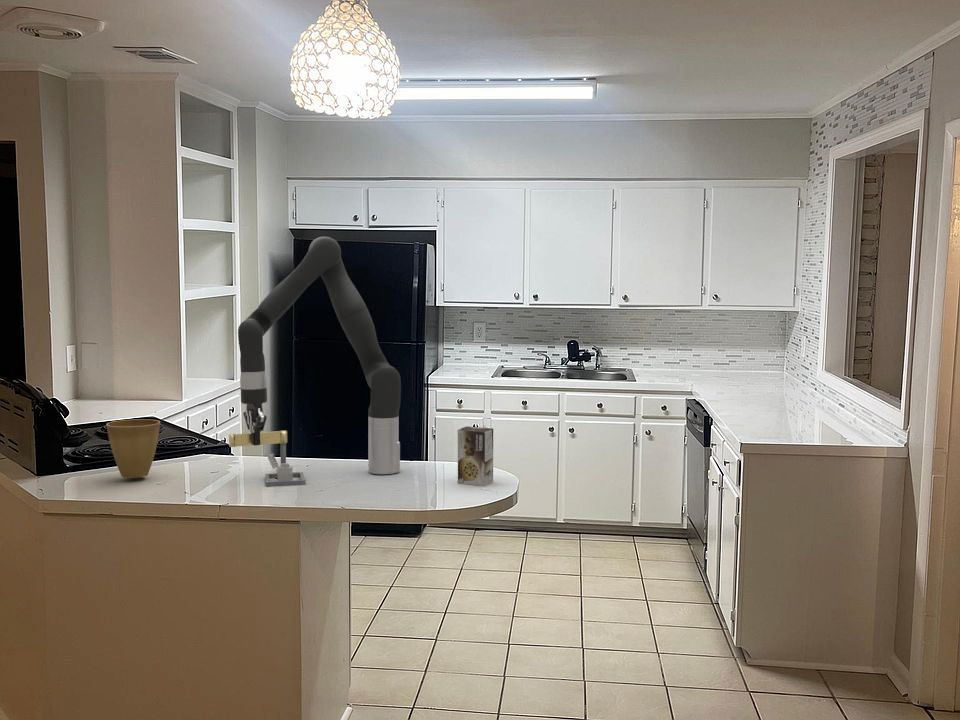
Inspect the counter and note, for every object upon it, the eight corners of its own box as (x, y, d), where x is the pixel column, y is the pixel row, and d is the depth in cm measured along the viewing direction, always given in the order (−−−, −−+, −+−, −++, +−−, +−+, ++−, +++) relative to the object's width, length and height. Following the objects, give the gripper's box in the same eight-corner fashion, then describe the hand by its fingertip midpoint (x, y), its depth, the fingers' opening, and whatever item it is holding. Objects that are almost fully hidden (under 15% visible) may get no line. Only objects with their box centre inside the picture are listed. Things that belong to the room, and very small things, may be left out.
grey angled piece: (292, 480, 256) (292, 453, 255) (291, 482, 254) (290, 455, 254) (269, 479, 257) (269, 453, 256) (267, 481, 255) (267, 454, 254)
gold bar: (288, 443, 263) (287, 431, 263) (230, 447, 256) (229, 435, 256) (286, 441, 266) (285, 430, 265) (228, 445, 258) (228, 434, 258)
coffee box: (493, 482, 257) (494, 428, 256) (484, 486, 251) (485, 431, 250) (466, 478, 261) (466, 425, 259) (456, 483, 255) (457, 428, 254)
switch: (301, 471, 268) (301, 441, 267) (305, 484, 252) (305, 453, 251) (264, 472, 265) (264, 443, 265) (266, 486, 249) (265, 454, 248)
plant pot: (170, 475, 260) (168, 422, 259) (120, 483, 250) (118, 428, 248) (148, 467, 271) (147, 416, 269) (99, 474, 260) (98, 422, 259)
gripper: (274, 387, 253) (276, 446, 254) (257, 383, 263) (259, 440, 265) (249, 389, 248) (251, 449, 250) (233, 385, 259) (235, 443, 261)
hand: (256, 444), depth 257 cm, fingers closed
